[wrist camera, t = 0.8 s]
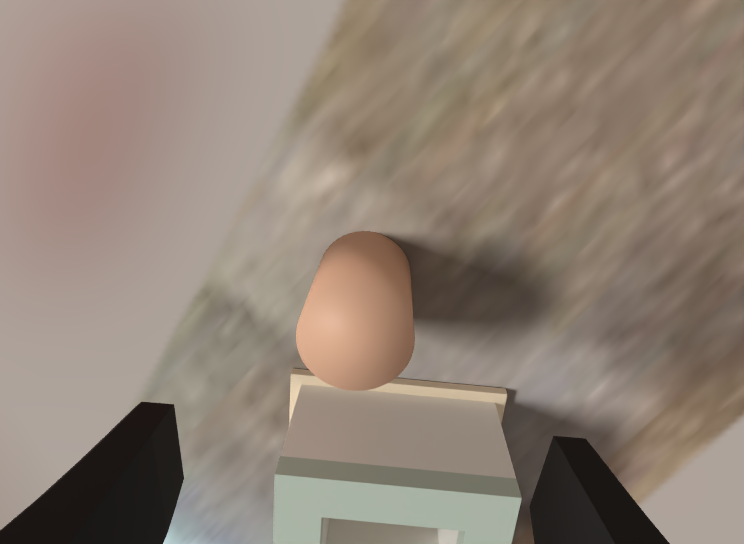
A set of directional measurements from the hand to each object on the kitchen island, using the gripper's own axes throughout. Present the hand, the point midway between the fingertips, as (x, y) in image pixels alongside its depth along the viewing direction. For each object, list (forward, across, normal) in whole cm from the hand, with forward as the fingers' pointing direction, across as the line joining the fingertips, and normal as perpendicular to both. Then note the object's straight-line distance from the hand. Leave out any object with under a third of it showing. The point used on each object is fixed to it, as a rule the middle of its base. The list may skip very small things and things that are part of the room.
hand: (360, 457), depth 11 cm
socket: (+12, -2, +14) cm, 18 cm away
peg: (+14, 0, +4) cm, 14 cm away
